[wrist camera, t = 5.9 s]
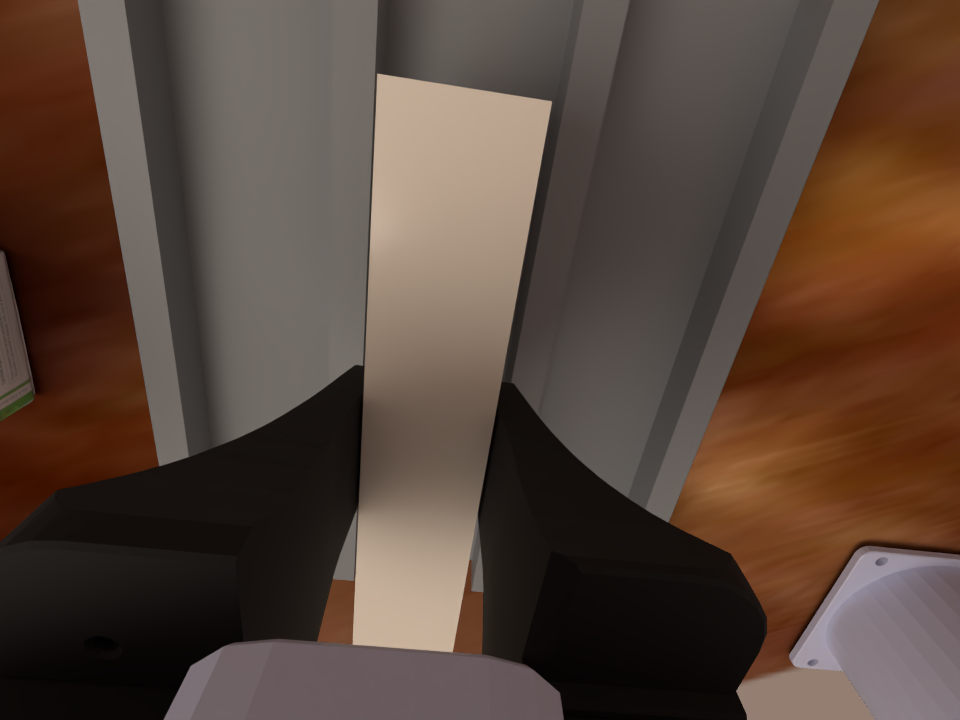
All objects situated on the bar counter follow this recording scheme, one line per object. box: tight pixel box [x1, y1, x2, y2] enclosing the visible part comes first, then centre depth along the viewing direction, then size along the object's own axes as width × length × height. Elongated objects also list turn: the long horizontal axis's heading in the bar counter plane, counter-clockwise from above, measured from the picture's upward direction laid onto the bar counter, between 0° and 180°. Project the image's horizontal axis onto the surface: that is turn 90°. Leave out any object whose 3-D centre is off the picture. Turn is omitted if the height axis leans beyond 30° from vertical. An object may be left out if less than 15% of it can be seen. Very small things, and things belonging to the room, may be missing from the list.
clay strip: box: [353, 74, 552, 652], centre depth 13 cm, size 14×2×5 cm, turn 172°
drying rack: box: [78, 0, 879, 592], centre depth 16 cm, size 18×20×3 cm
